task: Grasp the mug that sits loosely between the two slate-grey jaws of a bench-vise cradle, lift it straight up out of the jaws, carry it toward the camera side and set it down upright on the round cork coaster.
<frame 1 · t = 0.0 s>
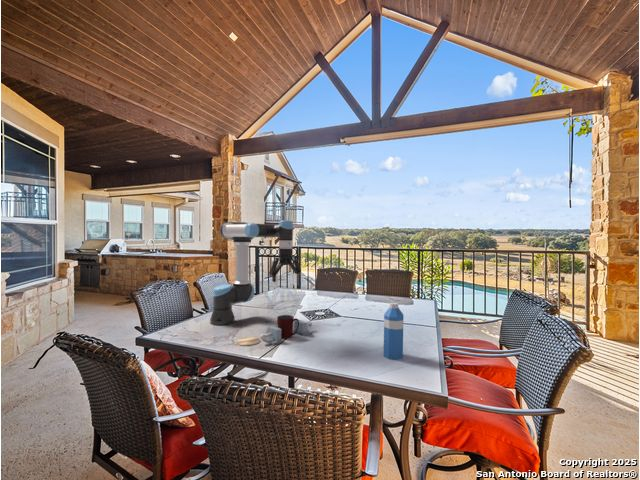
hand: (285, 286, 166), 28 cm above the table, fingers open, 13 cm apart
coaster: (248, 341, 158), on the table
vise: (287, 336, 166), on the table
water bottle: (393, 356, 141), on the table
mug: (287, 337, 166), on the table
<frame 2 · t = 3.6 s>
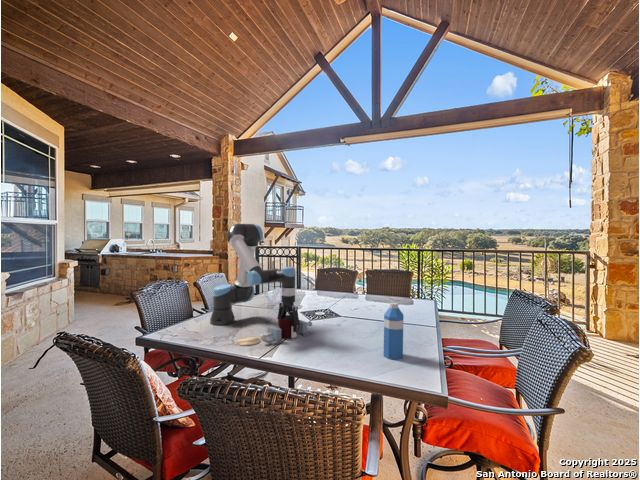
hand: (287, 335, 166), 1 cm above the table, fingers closed on mug, 9 cm apart
mug: (288, 337, 166), on the table, touching gripper
everything else where it was.
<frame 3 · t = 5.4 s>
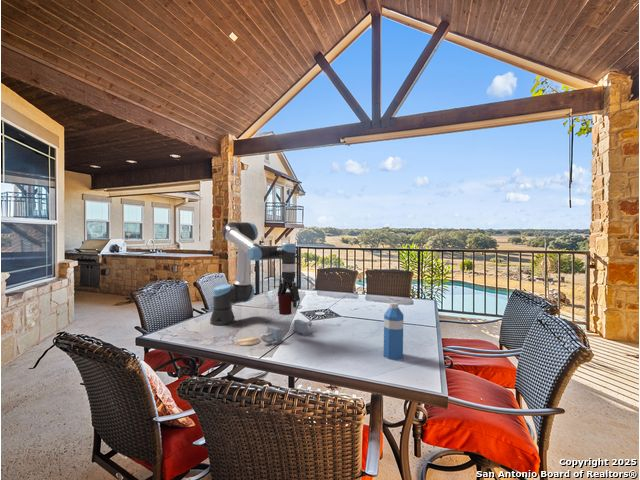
hand: (287, 311, 166), 14 cm above the table, fingers closed on mug, 9 cm apart
mug: (288, 313, 166), point 13 cm above the table, touching gripper
everything else where it was.
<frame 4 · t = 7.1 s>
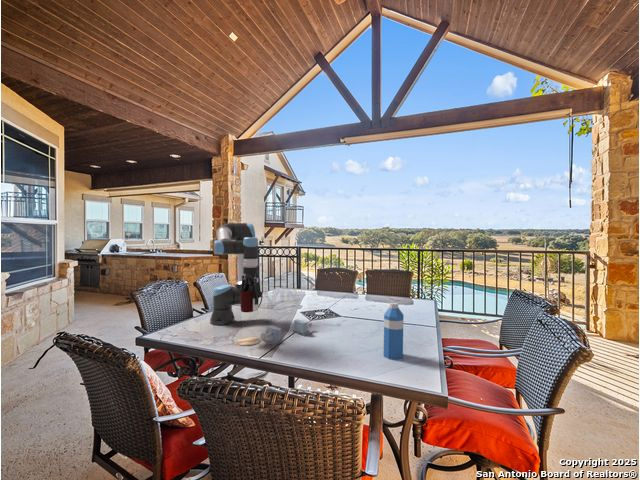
hand: (250, 308, 158), 17 cm above the table, fingers closed on mug, 9 cm apart
mug: (251, 311, 158), point 16 cm above the table, touching gripper
everything else where it was.
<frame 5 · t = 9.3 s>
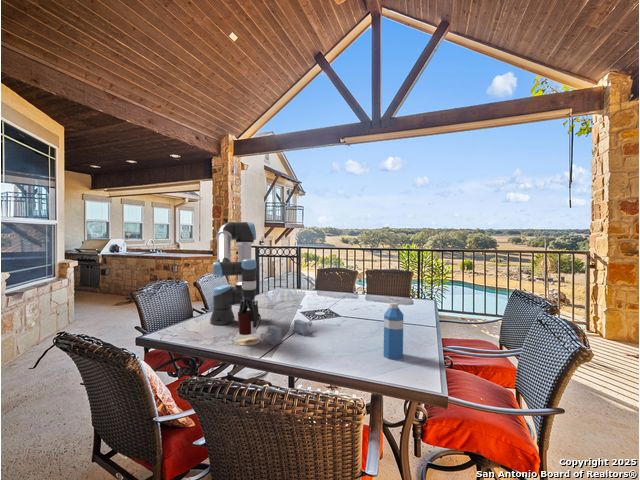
hand: (248, 330, 158), 6 cm above the table, fingers closed on mug, 9 cm apart
mug: (249, 333, 157), point 5 cm above the table, touching gripper
everything else where it was.
when the fingers open (3 cm above the table, at t = 10.8 s): mug drops 2 cm, resting on coaster.
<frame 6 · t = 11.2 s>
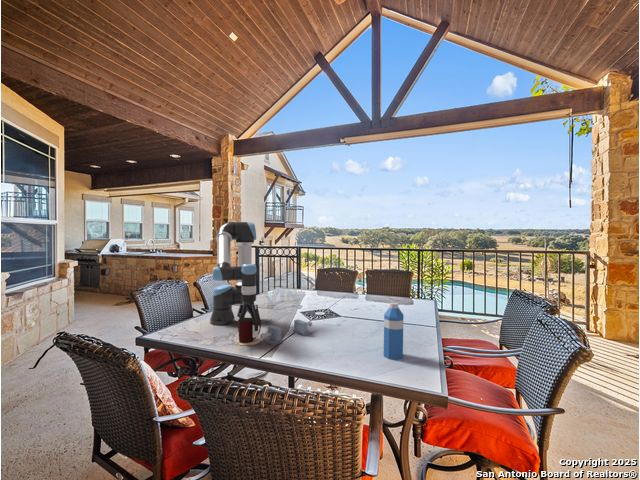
hand: (248, 333, 158), 4 cm above the table, fingers open, 13 cm apart
mug: (249, 341, 158), resting on coaster
everything else where it was.
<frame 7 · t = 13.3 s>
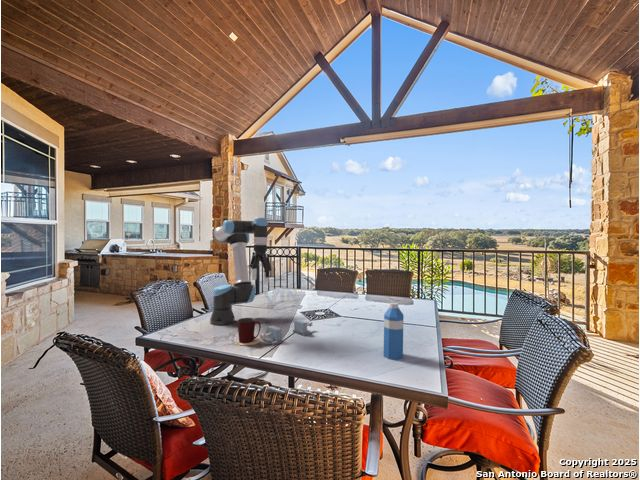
hand: (259, 281, 172), 30 cm above the table, fingers open, 13 cm apart
nothing on the table moved.
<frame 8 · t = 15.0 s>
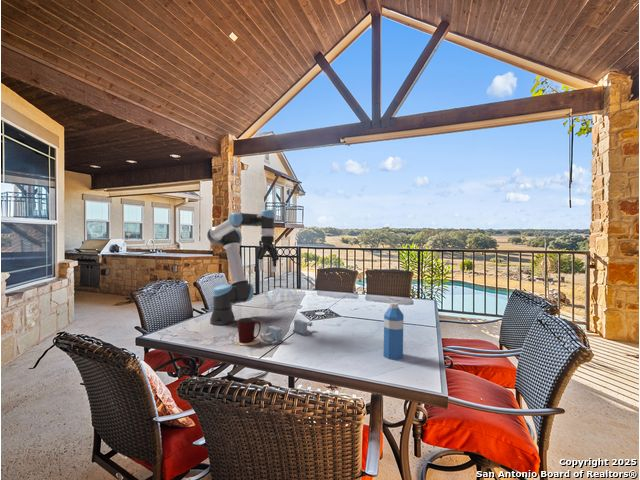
hand: (267, 271, 181), 35 cm above the table, fingers open, 13 cm apart
nothing on the table moved.
at the end: mug 0.3 cm from the coaster (horizontally); mug tilted 0°; mug touching coaster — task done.
